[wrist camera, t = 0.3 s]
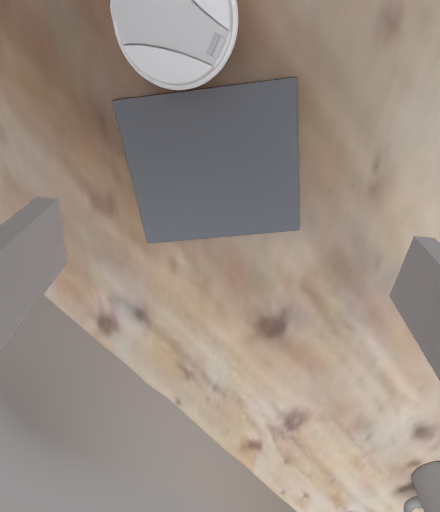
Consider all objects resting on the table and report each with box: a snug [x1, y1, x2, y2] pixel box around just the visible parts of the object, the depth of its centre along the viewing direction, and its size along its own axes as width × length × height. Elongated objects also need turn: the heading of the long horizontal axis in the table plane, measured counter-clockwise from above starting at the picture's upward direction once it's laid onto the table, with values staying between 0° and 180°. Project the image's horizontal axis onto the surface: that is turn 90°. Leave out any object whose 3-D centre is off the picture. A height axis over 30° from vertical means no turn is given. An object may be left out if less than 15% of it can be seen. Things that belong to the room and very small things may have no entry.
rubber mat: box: [113, 77, 299, 244], centre depth 40 cm, size 16×18×1 cm
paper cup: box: [110, 0, 238, 90], centre depth 27 cm, size 8×8×14 cm
